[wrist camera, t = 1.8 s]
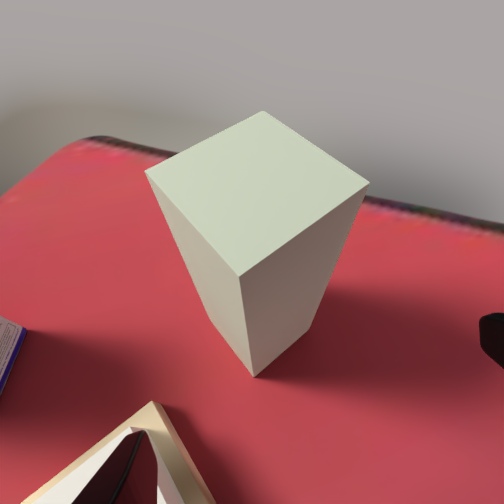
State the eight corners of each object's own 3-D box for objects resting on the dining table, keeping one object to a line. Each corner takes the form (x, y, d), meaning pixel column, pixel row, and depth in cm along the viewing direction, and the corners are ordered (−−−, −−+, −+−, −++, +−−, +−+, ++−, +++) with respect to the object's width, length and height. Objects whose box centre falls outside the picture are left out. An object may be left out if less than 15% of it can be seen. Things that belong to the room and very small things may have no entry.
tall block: (309, 329, 21) (369, 182, 9) (253, 377, 19) (239, 276, 7) (263, 280, 23) (263, 110, 11) (210, 320, 21) (144, 171, 10)
